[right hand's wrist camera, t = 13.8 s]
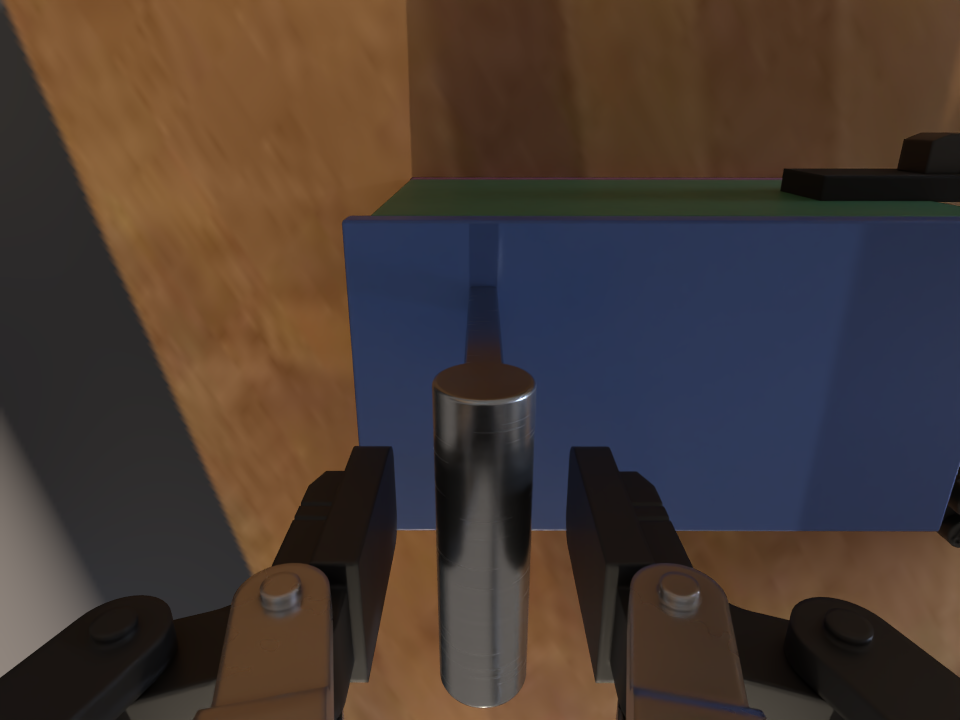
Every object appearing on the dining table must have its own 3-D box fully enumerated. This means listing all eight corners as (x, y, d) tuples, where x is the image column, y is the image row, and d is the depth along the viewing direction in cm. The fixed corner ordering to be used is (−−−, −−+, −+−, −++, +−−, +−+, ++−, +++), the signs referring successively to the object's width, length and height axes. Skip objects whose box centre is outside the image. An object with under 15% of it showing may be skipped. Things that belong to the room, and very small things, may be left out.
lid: (369, 515, 19) (298, 767, 12) (347, 215, 16) (230, 301, 9) (922, 516, 19) (1202, 769, 12) (1013, 216, 16) (1478, 303, 9)
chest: (419, 380, 29) (387, 514, 19) (412, 177, 26) (369, 214, 16) (773, 381, 29) (921, 515, 19) (810, 177, 26) (1011, 215, 16)
